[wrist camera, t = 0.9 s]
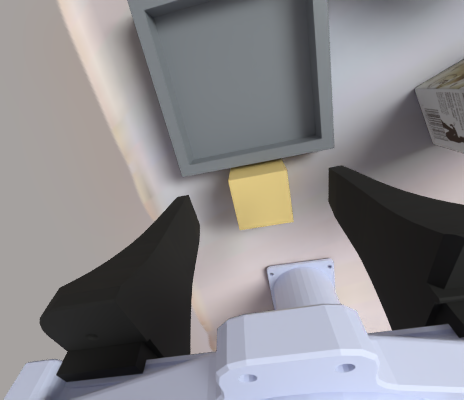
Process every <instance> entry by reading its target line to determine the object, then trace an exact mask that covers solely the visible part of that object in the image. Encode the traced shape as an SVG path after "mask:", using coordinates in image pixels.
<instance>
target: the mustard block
mask: <svg viewBox="0 0 464 400" xmlns="http://www.w3.org/2000/svg"><path fill="white" fill-rule="evenodd" d="M228 182H229V186H230V191H231V195H232V199H233V204H234V208H235V212H236V216H237V221H238V225H239V229H240V230H245V229H251V228H257V227H264V226H270V225H277V224H283V223H289V222H294V221H293V213H292V206H291V198H290V190H289V182H288V175H287V169H286V167H285V165H284V163H283V161H282V159H281V158H280V159H274V160H269V161H264V162H259V163H254V164H248V165H243V166H238V167H233V168H231V169H230V174H229V180H228Z"/></svg>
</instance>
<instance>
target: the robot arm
mask: <svg viewBox="0 0 464 400" xmlns="http://www.w3.org/2000/svg"><path fill="white" fill-rule="evenodd" d="M329 204H330V206H331V209H332V211H333V213H334V216H335V218H336V219H337V221H338V223H339V224H340V226H341V228H342V229H343V231H344V232H345V234H346V235H347V237H348V239H349V240H350V242H351V243H352V245H353V247H354V248H355V250H356V251H357V253H358V255H359V257H360V258H361V260H362V262H363V264H364V267H365V269H366V271H367V273H368V275H369V277H370V279H371V281H372V284H373V286H374V288H375V290H376V292H377V295H378V297H379V299H380V302H381V304H382V306H383V309H384V311H385V314H386V316H387V318H388V321H389V323H390V326H391V329H392V331H384V332H376V333H368V334H367V332H366V330H365V328H364V326H363V324H362V321H361V319H360V317H359V315H358V313H357V311H356V310H353V309H351V308H349V307H347V306H344V305H342V304H341V303H340V301H339V299H338V296H337V294H336V292H335V278H334V262H333V260H332V259H330V258H328V259H320V260H313V261H305V262H298V263H291V264H283V265H276V266H269V267H268V268H267V275H268V280H269V285H270V290H271V295H272V300H273V305H274V310H271V311H264V312H256V313H249V314H243V315H239V316H236V317H233V318H229V319H228V320H227V321H226V322H225V323H224V324H222V325H221V326H220V327H219V328H218V329H217V351H216V352H208V353H200V354H191V355H190V327H191V325H190V324H191V298H192V283H193V275H194V270H195V264H196V258H197V252H198V246H199V238H200V224H199V221H198V219H197V216H196V213H195V211H194V208H193V205H192V203H191V200H190V197H189V195H186V196H181V197H177V198H176V199H175V200H174V201H173V202H172V203H171V204H170V206H169V207H168V208H167V209H166V210H165V211H164V212H163V213H162V214H161V216H160V217H159V218H158V219H157V220H156V221H155V222H154V223H153V224H152V225H151V226H150V227H149V228H148V229H147V230H146V231H145V232H144V233H143V234H142V235H141V236H140V237H139V238H137V239H136V240H135V241H134V242H133V243H132V244H130V245H129V246H128V247H126V248H125V249H124V250H122V251H121V252H120V253H118V254H117V255H115V256H114V257H113V258H111V259H110V260H108V261H107V262H105V263H104V264H102V265H101V266H99V267H97V268H96V269H94V270H92V271H91V272H89V273H87V274H85V275H84V276H82V277H80V278H78V279H76V280H74V281H72V282H70V283H68V284H66V285H65V286H62V287H61V288H59V290H58V291H57V293H56V294H55V296H54V297H53V299H52V300H51V302H50V303H49V305H48V306H47V308H46V309H45V311H44V313H43V314H42V316H41V317H40V325H41V328H42V330H43V331H44V332H45V333H46V334H47V335H48V336H49V337H50V338H51V339H53V340H54V341H55V342H57V343H58V344H59V345H60V346H61V347H63V348H64V349H65V350H66V351H68V352H67V354H66V356H65V358H64V360H63V361H62V360H58V359H50V360H42V361H34V362H28V363H26V364H25V365H24V367H23V369H22V370H21V372H20V373H19V375H18V377H17V378H16V380H15V382H14V383H13V385H12V386H11V388H10V390H9V391H8V393H7V395H6V396H5V398H4V400H464V205H462V204H456V203H450V202H446V201H441V200H436V199H432V198H428V197H424V196H420V195H417V194H413V193H410V192H406V191H403V190H400V189H397V188H394V187H392V186H389V185H386V184H384V183H381V182H379V181H376V180H374V179H372V178H369V177H367V176H365V175H362V174H360V173H358V172H356V171H354V170H351V169H349V168H347V167H344V166H337V167H332V168H329ZM328 265H330V266H328ZM270 273H273V274H270Z"/></svg>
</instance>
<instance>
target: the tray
mask: <svg viewBox="0 0 464 400" xmlns="http://www.w3.org/2000/svg"><path fill="white" fill-rule="evenodd" d="M127 1H128V4H129V7H130V11H131V14H132V17H133V20H134V23H135V27H136V30H137V33H138V36H139V39H140V43H141V46H142V49H143V52H144V55H145V59H146V62H147V65H148V68H149V72H150V75H151V78H152V81H153V84H154V88H155V91H156V94H157V97H158V100H159V104H160V107H161V110H162V113H163V116H164V120H165V123H166V126H167V129H168V132H169V136H170V139H171V142H172V145H173V149H174V152H175V155H176V158H177V161H178V165H179V168H180V171H181V174H182V177H186V176H191V175H197V174H202V173H207V172H212V171H217V170H223V169H228V168H233V167H238V166H243V165H248V164H254V163H259V162H264V161H269V160H274V159H280V158H285V157H290V156H295V155H300V154H306V153H311V152H316V151H321V150H326V149H331V148H334V128H333V107H332V85H331V63H330V41H329V19H328V0H127Z"/></svg>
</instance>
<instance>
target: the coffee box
mask: <svg viewBox="0 0 464 400" xmlns="http://www.w3.org/2000/svg"><path fill="white" fill-rule="evenodd" d="M415 92H416V95H417V98H418V101H419V104H420V107H421V110H422V113H423V116H424V119H425V122H426V125H427V127H428V130H429V133H430V136H431V139H432V142H433V144H434V145H438V146H442V147H445V148H448V149H451V150H454V151H458V152H461V153H464V59H463V60H462V61H460V62H458V63H456V64H455V65H453V66H451V67H450V68H448V69H446V70H445V71H443V72H441V73H439V74H438V75H436V76H434V77H433V78H431V79H429V80H428V81H426V82H424V83H423V84H421V85H419V86H418V87H416V88H415Z"/></svg>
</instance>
